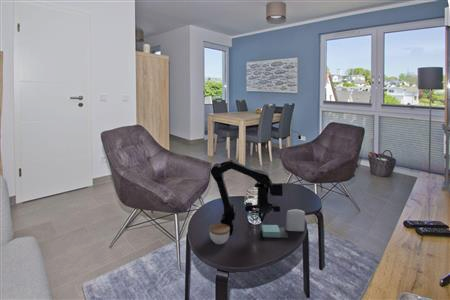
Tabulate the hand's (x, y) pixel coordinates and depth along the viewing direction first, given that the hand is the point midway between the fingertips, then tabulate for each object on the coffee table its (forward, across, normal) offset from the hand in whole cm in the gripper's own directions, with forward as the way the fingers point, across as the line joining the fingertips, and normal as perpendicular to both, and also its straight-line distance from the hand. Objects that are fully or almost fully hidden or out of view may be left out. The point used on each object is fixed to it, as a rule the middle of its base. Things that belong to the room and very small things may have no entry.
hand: (261, 221), depth 164 cm
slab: (+6, +1, 0) cm, 6 cm away
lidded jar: (+8, -23, -9) cm, 26 cm away
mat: (+7, +8, +2) cm, 11 cm away
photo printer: (+8, +20, +5) cm, 22 cm away
